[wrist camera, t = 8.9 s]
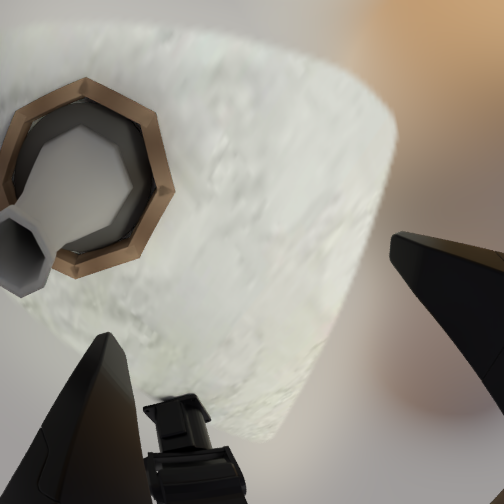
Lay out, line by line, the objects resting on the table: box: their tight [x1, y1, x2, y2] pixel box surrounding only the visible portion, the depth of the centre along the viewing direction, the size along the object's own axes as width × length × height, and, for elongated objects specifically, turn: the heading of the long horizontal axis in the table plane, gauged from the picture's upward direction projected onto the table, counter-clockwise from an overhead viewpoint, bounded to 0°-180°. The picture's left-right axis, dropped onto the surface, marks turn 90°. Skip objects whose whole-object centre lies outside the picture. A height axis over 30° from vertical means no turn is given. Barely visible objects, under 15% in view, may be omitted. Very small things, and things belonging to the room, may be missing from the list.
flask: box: [0, 124, 133, 298], centre depth 11 cm, size 7×7×10 cm
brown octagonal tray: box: [0, 77, 175, 279], centre depth 15 cm, size 12×12×2 cm
